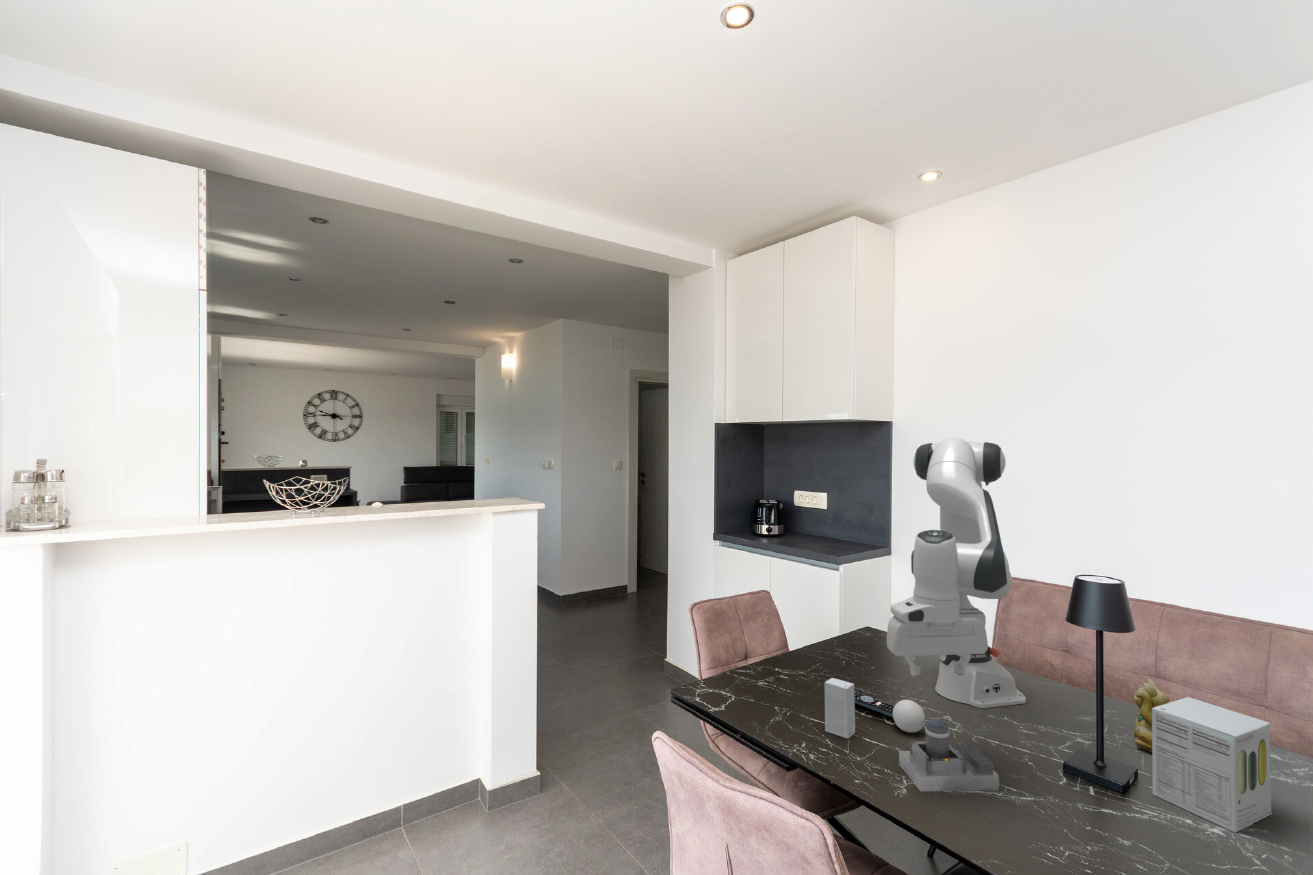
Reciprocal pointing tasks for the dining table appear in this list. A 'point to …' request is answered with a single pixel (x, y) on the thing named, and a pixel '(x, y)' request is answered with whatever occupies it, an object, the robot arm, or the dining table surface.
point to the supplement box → (1212, 762)
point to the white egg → (908, 716)
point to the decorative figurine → (1147, 712)
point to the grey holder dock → (949, 769)
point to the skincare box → (839, 708)
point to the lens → (937, 739)
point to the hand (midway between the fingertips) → (937, 674)
